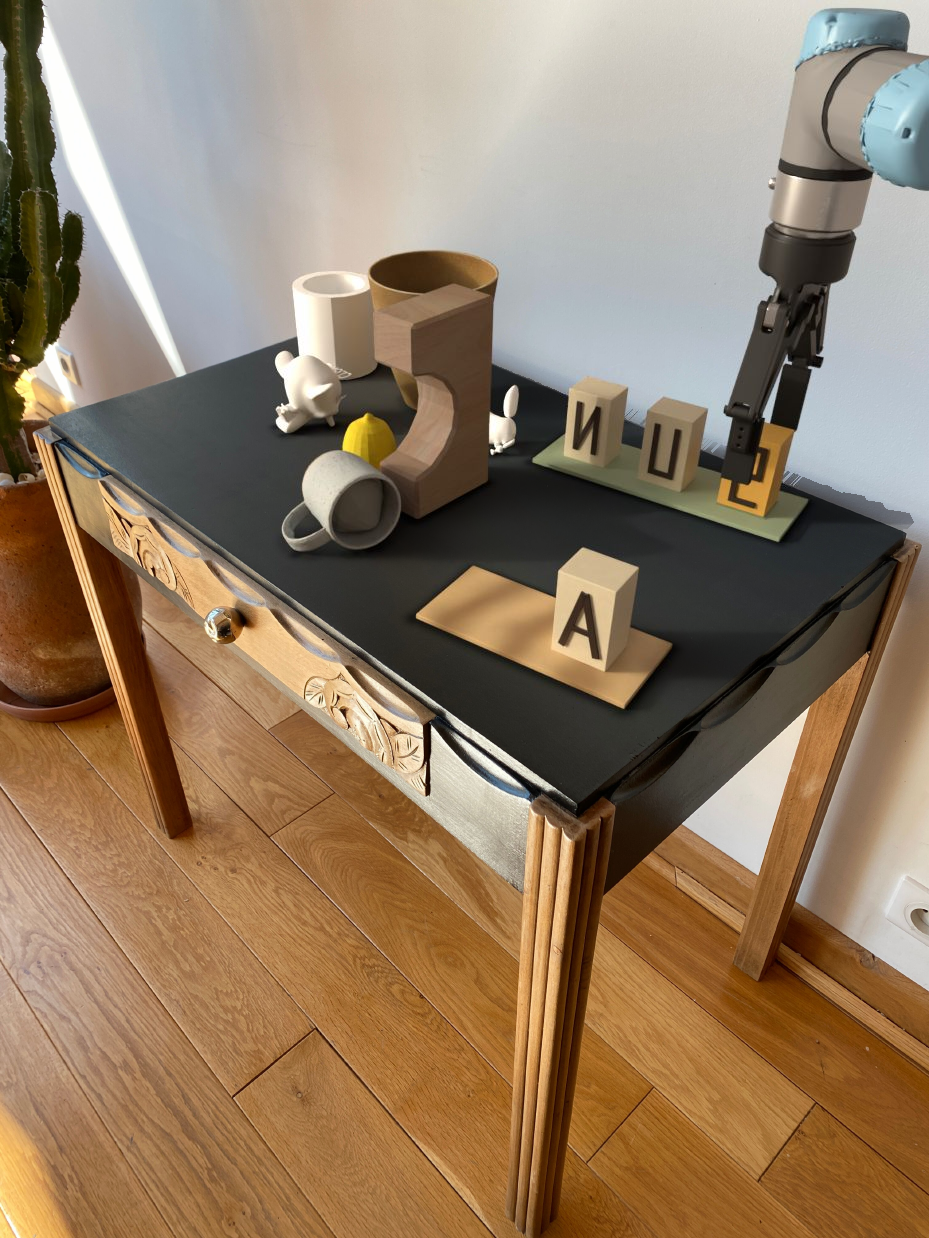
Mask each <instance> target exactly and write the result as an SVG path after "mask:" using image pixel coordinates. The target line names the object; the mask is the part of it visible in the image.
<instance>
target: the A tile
mask: <svg viewBox="0 0 929 1238" xmlns="http://www.w3.org/2000/svg"><path fill="white" fill-rule="evenodd" d="M639 571H640V567H639V566H636V565H633V564H631V563H629V562H625V561H622V560H619V559H617V558H613V557H611V556H608V555H605V554H603V553H600V552H597V551H595V550H592V549H589V548H586V547H582V548H580V549H579V550H578V551H577V552H576V553H575V554H574V555H573V556H572V557H571V558H570V559H568V561H566V563H565V564H564V565H562V566H561V568H560V569H559V570H558V572H557V584H556V595H555V598H556V604H555V615H554V626H553V636H552V647H551V649H552V650H554V651H556V652H559V653H561V654H563V655H566V656H568V657H571V658H573V659H575V660H578V661H580V662H582V663H585V664H587V665H590V666H592V667H594V668H597V669H599V670H601V671H604V672H605V671H606V670H607V669H608V668H609V667H610V665H611V664H612V663H613V662H614V661H615V660H616V658H617V657H618V656H619V655H620V654H621V652H622V651H623V650H624V649H625V648H626V646H627V642H628V635H629V629H630V627H631V623H632V615H633V610H634V603H635V598H636V597H635V596H636V590H637V586H638V585H637V584H638V577H639Z"/></svg>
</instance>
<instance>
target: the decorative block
mask: <svg viewBox="0 0 929 1238" xmlns="http://www.w3.org/2000/svg"><path fill="white" fill-rule="evenodd" d="M494 302H495V298H494V299H493V297H492V296H491V295H488V294H485V293H482V292H479V291H476V290H473V289H470V288H466V287H463V286H460V285H457V284H451V285H448V286H445V287H442V288H439V289H436V290H434V291H431V292H428V293H425V294H422V295H419V296H416V297H413V298H410V299H407V300H405V301H402V302H399V303H396V304H393V305H390V306H387V307H384V308H381V309H378V310H376V311H375V312H374V313H373V324H374V348H375V360H376V361H377V363H378V364H381V365H383V366H386V367H388V368H394V369H396V370H398V371H401V372H403V373H406V374H408V375H411V376H413V377H414V378H415V379H416V380H417V387H418V393H419V399H418V408H417V410H416V414H415V416H414V419H413V421H412V424H411V426H410V428H409V430H408V433H407V434H406V436H405V437H404V438H403V440H402V441H401V443H400V444H399V445H398V447H397V448H396V451H395V452H393V453H392V454H391V455H389V456H388V457H386V458H385V459H384V460H382V461H381V462H380V472H381V473H382V474H384V475H385V476H387V477H388V478H389V479H390V480H392V481H393V483H394V484H395V485H396V487H397V488H398V491H399V493H400V497H401V512H402V513H404V514H406V515H407V516H410V517H412V518H414V519H415V520H420V519H421V518H423V517H425V516H427V515H428V514H431V513H432V512H434V511H436V510H438V509H440V508H441V507H443V506H444V505H446V504H448V503H451V502H452V501H454V500H456V499H457V498H460V497H461V496H463V495H465V494H467V493H469V492H470V491H472V490H475V489H476V488H478V487H480V486H481V485H483V484H485V483H487V482H488V481H489V458H490V457H489V455H490V453H489V452H490V444H489V429H490V412H491V395H492V394H491V393H492V370H493V369H492V368H493V366H492V365H493V364H492V363H493V336H494V335H493V333H494V309H495V307H494V305H495V304H494Z"/></svg>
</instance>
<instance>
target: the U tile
mask: <svg viewBox="0 0 929 1238" xmlns="http://www.w3.org/2000/svg"><path fill="white" fill-rule="evenodd" d="M708 413H709V408H708V407H705V406H700V405H696V404H692V403H689V402H686V401H681V400H678V399H675V398H671V397H667V396H663V397H661V398H660V399H659V400H657V401H656V402H655V403H654V404H653V405H652V406H650V407H649V408H648V409H647V410H646V416H645V424H644V429H643V430H644V431H643V436H642V437H643V438H642V445H641V449H642V450H641V457H640V464H639V471H638V478H637V479H639V480H642V481H646V482H649V483H652V484H655V485H658V486H661V487H665V488H668V489H671V490H674V491H677V492H681V491H682V490H683V489H684V488H685V487H686V486H687V485H688V484H689V483H690V482H691V481H692V480H693V479H694V478H695V476H696V471H697V466H698V465H699V461H700V460H699V459H700V455H701V450H702V445H703V439H704V434H705V429H706V423H707V419H708Z"/></svg>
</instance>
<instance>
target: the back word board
mask: <svg viewBox="0 0 929 1238" xmlns="http://www.w3.org/2000/svg"><path fill="white" fill-rule="evenodd" d="M565 436H566V432H564V434H562V435H561V436H560V437H558V439H556V440H555V441H553V442H552V443H551V444H550V445H548V446H547V447H546V448H545V449H543V450H542V451H541V452H539V453H538V454H537V455H535V456H534V457H533V458H532V463H534V464H537V465H540V466H542V467H546V468H549V469H552V470H555V471H558V472H561V473H564V474H567V475H570V476H573V477H577V478H578V479H579V478H580V479H582V480H585V481H589V482H592V483H595V484H598V485H601V486H603V487H607V488H610V489H612V490H613V489H614V490H617V491H619V492H622V493H626V494H629V495H632V496H636V497H638V498H642V499H644V500H647V501H651V502H652V503H653V502H654V503H657V504H660V505H662V506H666V507H669V508H672V509H675V510H678V511H681V512H685V513H687V514H691V515H693V516H697V517H699V518H703V519H706V520H710V521H713V522H716V523H719V524H721V525H724V526H728V527H731V528H734V529H737V530H740V531H743V532H746V533H749V534H753V535H755V536H758V537H762V538H765V539H768V540H771V541H774V542H777V543H780V541H781V540H782V539H783V537H784V536H785V535H786V533H788V530H789V529H790V527H792V525H793V524H794V522H795V521H796V519H798V517H799V516H800V514H801V513H802V511H804V509H805V507H806V506H807V505H808V503H809V498H805V497H802V496H799V495H795V494H792V493H789V492H785V491H783V490H779V494H778V498H777V501H776V502H775V503H774V505H773V506H772V507H771V508H770V510H769V511H768V512H767V513H766V515H765V516H764V517H762V516H759V515H755V514H752V513H749V512H746V511H743V510H740V509H736V508H733V507H730V506H727V505H724V504H721V503H717V499H718V494H719V489H720V484H721V480H722V478H720V477H721V472H718V471H716V470H712V469H708V468H705V467H702V466H697V471H696V476H695V478H694V479H693V480H692V481H691V482H690V483H689V484H688V485H687V486H686V487H685V488H684V489H683V490H682V491H681V492H677V491H674V490H671V489H668V488H665V487H661V486H658V485H655V484H652V483H649V482H646V481H642V480H639V479H637V478H638V471H639V464H640V457H641V450H642V448H638V447H635V446H631V445H629V444H625V443H622V442H621V448H620V454H619V455H618V456H617V457H616V458H615V459H613V460H612V461H611V462H610V463H609V464H608V465H607V466H605V467H604V468H601V467H598V466H595V465H592V464H589V463H586V462H582V461H579V460H576V459H573V458H570V457H567V456H564V447H565Z"/></svg>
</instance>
